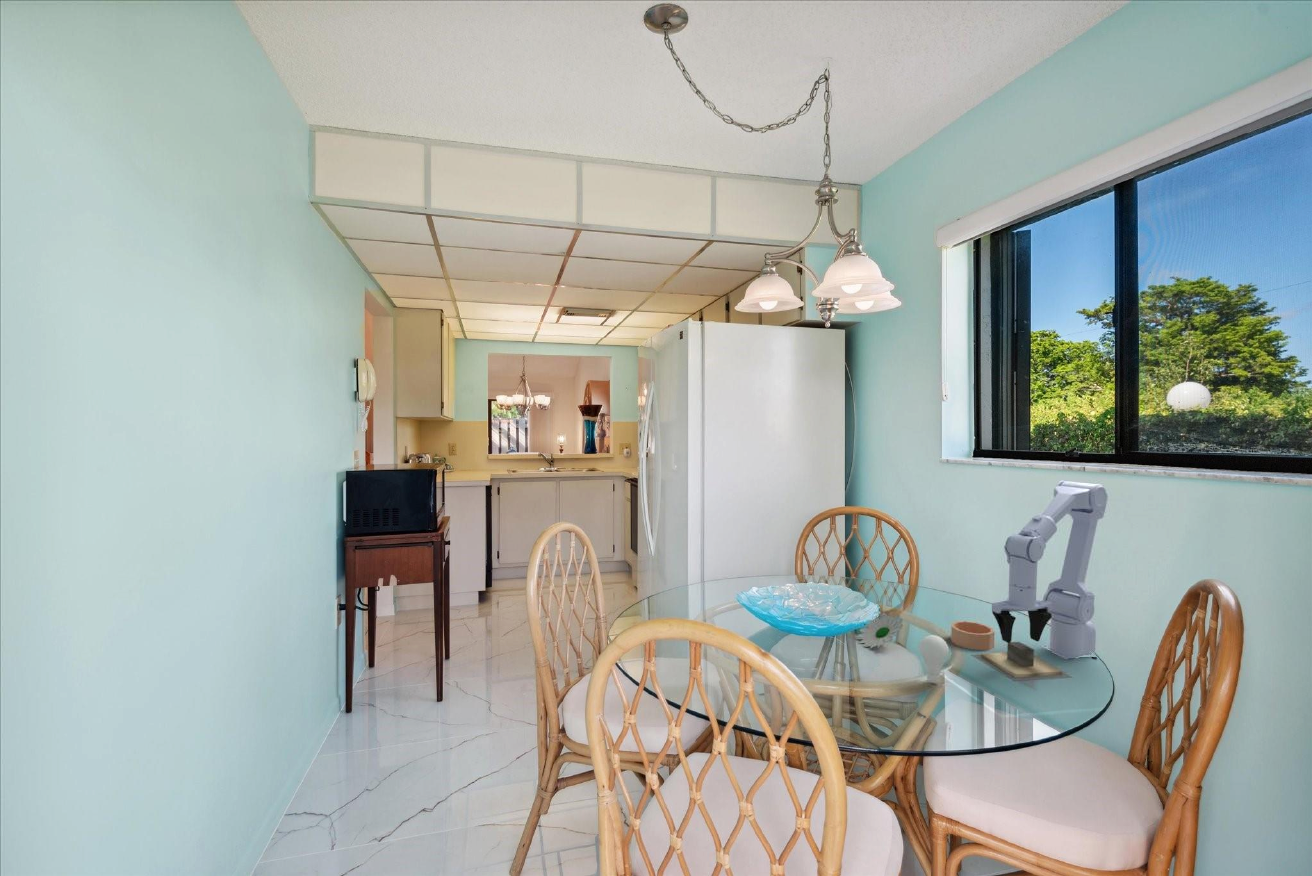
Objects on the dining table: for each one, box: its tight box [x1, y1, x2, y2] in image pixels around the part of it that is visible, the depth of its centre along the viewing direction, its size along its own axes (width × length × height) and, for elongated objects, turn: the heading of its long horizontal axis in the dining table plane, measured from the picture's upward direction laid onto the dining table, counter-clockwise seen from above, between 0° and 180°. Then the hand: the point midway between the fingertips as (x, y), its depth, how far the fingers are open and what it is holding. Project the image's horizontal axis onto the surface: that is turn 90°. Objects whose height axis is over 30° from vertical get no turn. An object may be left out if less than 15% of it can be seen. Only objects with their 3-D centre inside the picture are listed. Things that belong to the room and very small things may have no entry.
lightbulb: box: [918, 634, 950, 685], centre depth 139 cm, size 6×6×11 cm
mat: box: [971, 653, 1073, 682], centre depth 148 cm, size 15×15×1 cm
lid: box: [980, 641, 1063, 678], centre depth 148 cm, size 12×12×5 cm
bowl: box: [950, 620, 995, 651], centre depth 163 cm, size 10×10×4 cm
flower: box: [857, 611, 903, 649], centre depth 171 cm, size 13×6×30 cm
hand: (1020, 640), depth 148 cm, fingers open, 7 cm apart
